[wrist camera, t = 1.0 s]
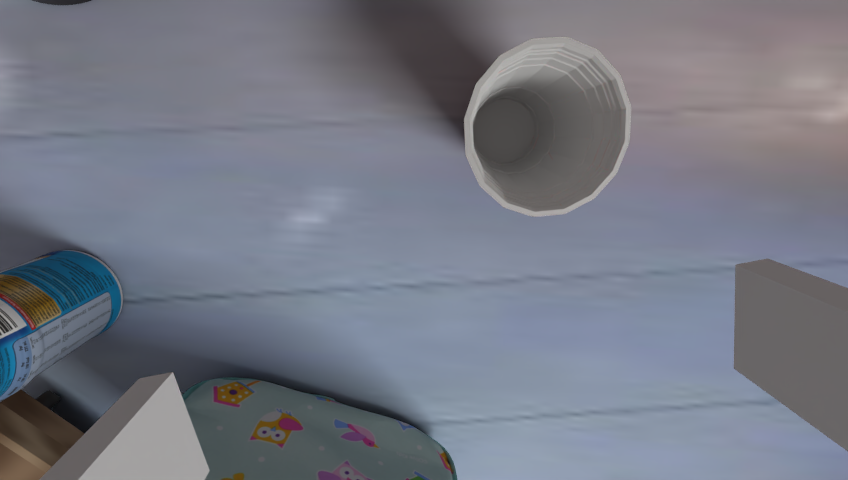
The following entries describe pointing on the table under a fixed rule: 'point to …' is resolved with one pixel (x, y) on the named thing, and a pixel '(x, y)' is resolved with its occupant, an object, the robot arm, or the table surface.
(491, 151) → the plastic cup
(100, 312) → the beverage bottle
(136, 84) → the table surface
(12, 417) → the wooden square tray
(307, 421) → the lunch box
